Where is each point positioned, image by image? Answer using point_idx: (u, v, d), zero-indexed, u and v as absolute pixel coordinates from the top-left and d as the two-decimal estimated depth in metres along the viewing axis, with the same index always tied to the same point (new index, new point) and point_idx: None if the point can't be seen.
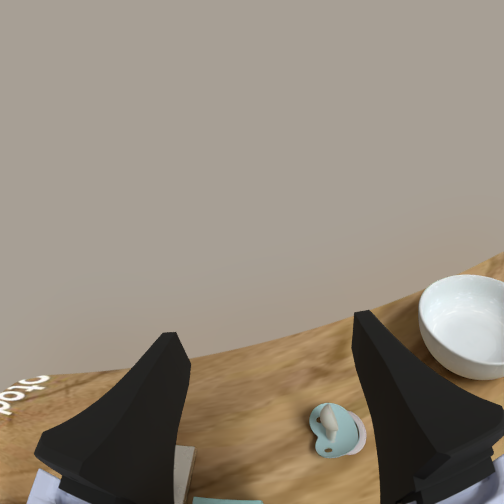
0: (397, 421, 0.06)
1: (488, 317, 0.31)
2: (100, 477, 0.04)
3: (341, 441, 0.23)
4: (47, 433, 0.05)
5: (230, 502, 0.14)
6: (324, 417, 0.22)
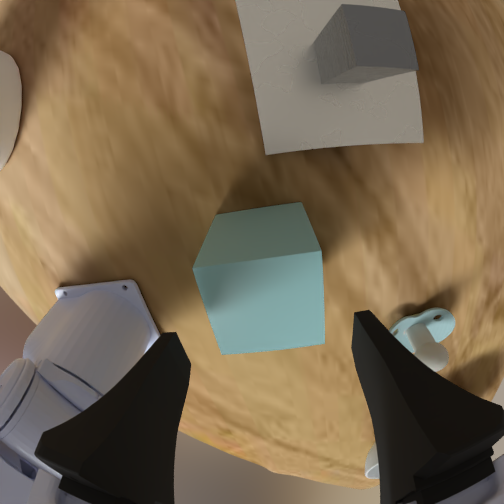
0: (397, 421, 0.06)
1: None
2: (100, 477, 0.04)
3: (401, 340, 0.21)
4: (47, 434, 0.05)
5: (318, 310, 0.12)
6: (433, 363, 0.16)
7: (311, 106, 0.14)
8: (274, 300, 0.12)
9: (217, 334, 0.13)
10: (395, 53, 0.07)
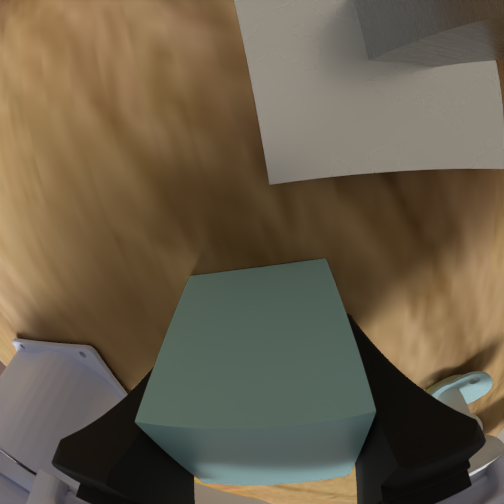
0: None
1: None
2: (126, 485, 0.04)
3: None
4: (65, 441, 0.05)
5: (349, 460, 0.06)
6: None
7: (352, 98, 0.07)
8: (280, 458, 0.06)
9: (193, 472, 0.07)
10: None
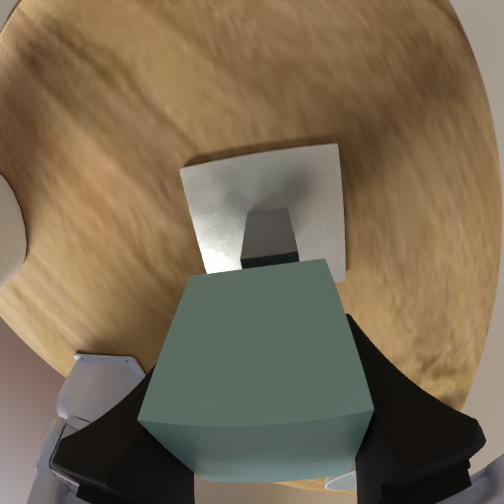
0: (368, 428, 0.06)
1: None
2: (126, 485, 0.04)
3: None
4: (65, 441, 0.05)
5: (347, 457, 0.06)
6: None
7: None
8: (280, 455, 0.06)
9: (194, 470, 0.07)
10: None
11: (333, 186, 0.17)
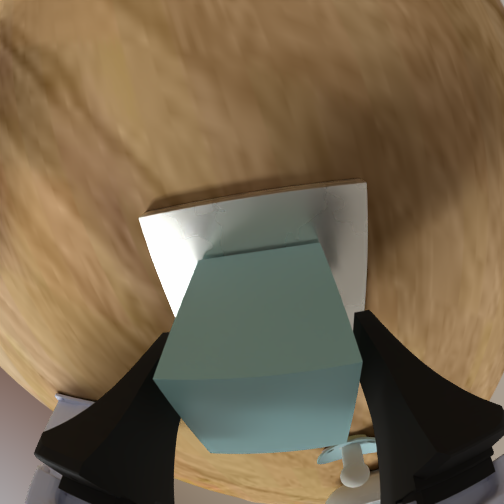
0: (397, 421, 0.06)
1: None
2: (100, 477, 0.04)
3: (338, 452, 0.23)
4: (47, 434, 0.05)
5: (344, 421, 0.07)
6: (351, 483, 0.18)
7: None
8: (281, 415, 0.07)
9: (202, 439, 0.08)
10: None
11: (356, 242, 0.12)
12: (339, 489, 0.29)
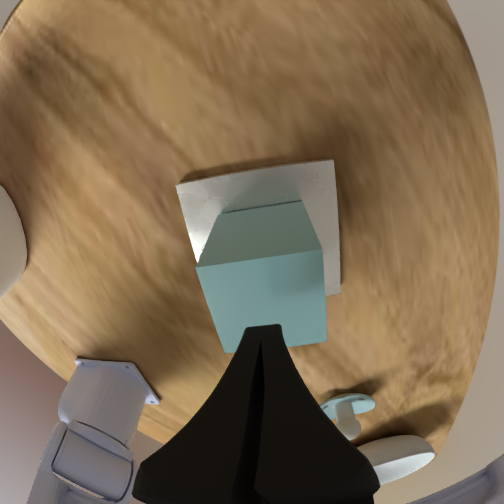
0: None
1: None
2: (239, 502, 0.04)
3: (331, 410, 0.28)
4: (149, 465, 0.04)
5: (320, 308, 0.13)
6: (344, 435, 0.23)
7: None
8: (276, 298, 0.12)
9: (220, 333, 0.14)
10: None
11: (328, 202, 0.17)
12: None
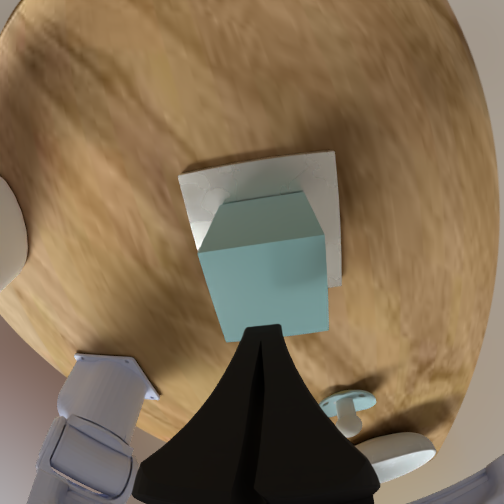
0: None
1: None
2: (239, 502, 0.04)
3: (332, 407, 0.28)
4: (149, 465, 0.04)
5: (322, 295, 0.13)
6: (345, 432, 0.23)
7: None
8: (278, 285, 0.12)
9: (221, 321, 0.14)
10: None
11: (330, 193, 0.17)
12: None
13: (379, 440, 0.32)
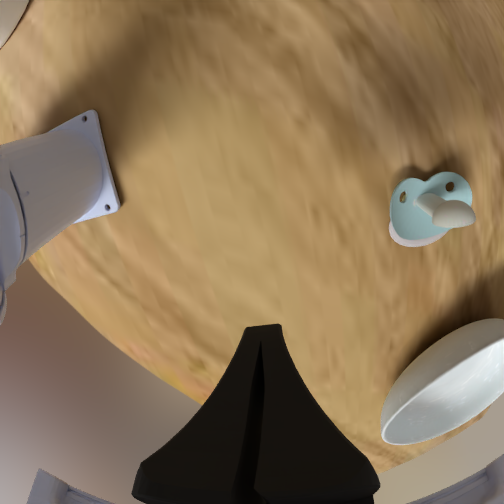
0: None
1: (455, 387, 0.27)
2: (239, 502, 0.04)
3: (412, 215, 0.17)
4: (149, 465, 0.04)
5: None
6: (458, 213, 0.12)
7: None
8: None
9: None
10: None
11: None
12: (404, 370, 0.24)
13: (467, 325, 0.20)
